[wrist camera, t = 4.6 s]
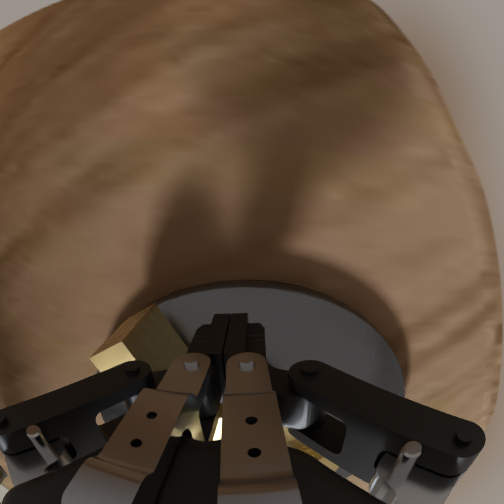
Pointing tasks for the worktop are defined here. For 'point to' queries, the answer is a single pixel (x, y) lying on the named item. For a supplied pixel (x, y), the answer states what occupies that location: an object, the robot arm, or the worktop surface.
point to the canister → (2, 475)
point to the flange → (287, 330)
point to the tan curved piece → (161, 356)
